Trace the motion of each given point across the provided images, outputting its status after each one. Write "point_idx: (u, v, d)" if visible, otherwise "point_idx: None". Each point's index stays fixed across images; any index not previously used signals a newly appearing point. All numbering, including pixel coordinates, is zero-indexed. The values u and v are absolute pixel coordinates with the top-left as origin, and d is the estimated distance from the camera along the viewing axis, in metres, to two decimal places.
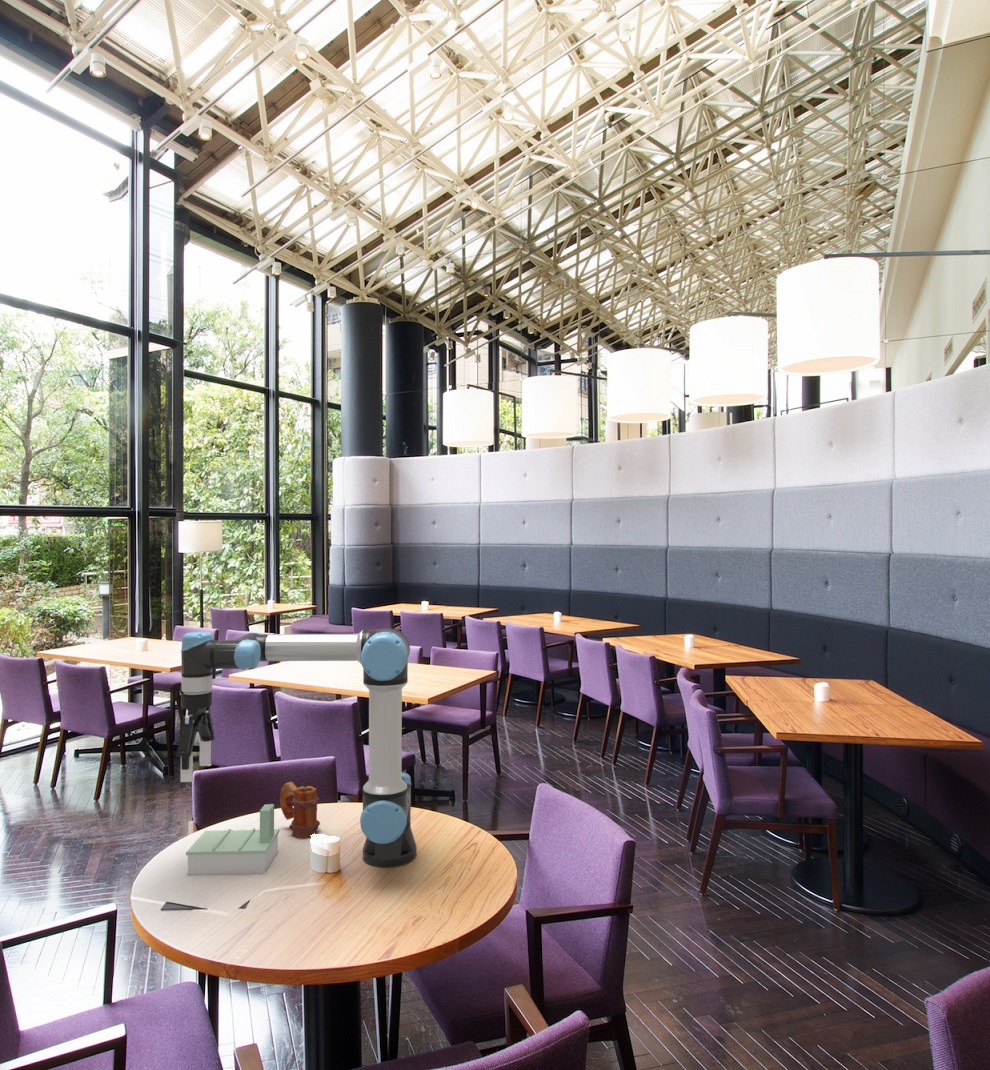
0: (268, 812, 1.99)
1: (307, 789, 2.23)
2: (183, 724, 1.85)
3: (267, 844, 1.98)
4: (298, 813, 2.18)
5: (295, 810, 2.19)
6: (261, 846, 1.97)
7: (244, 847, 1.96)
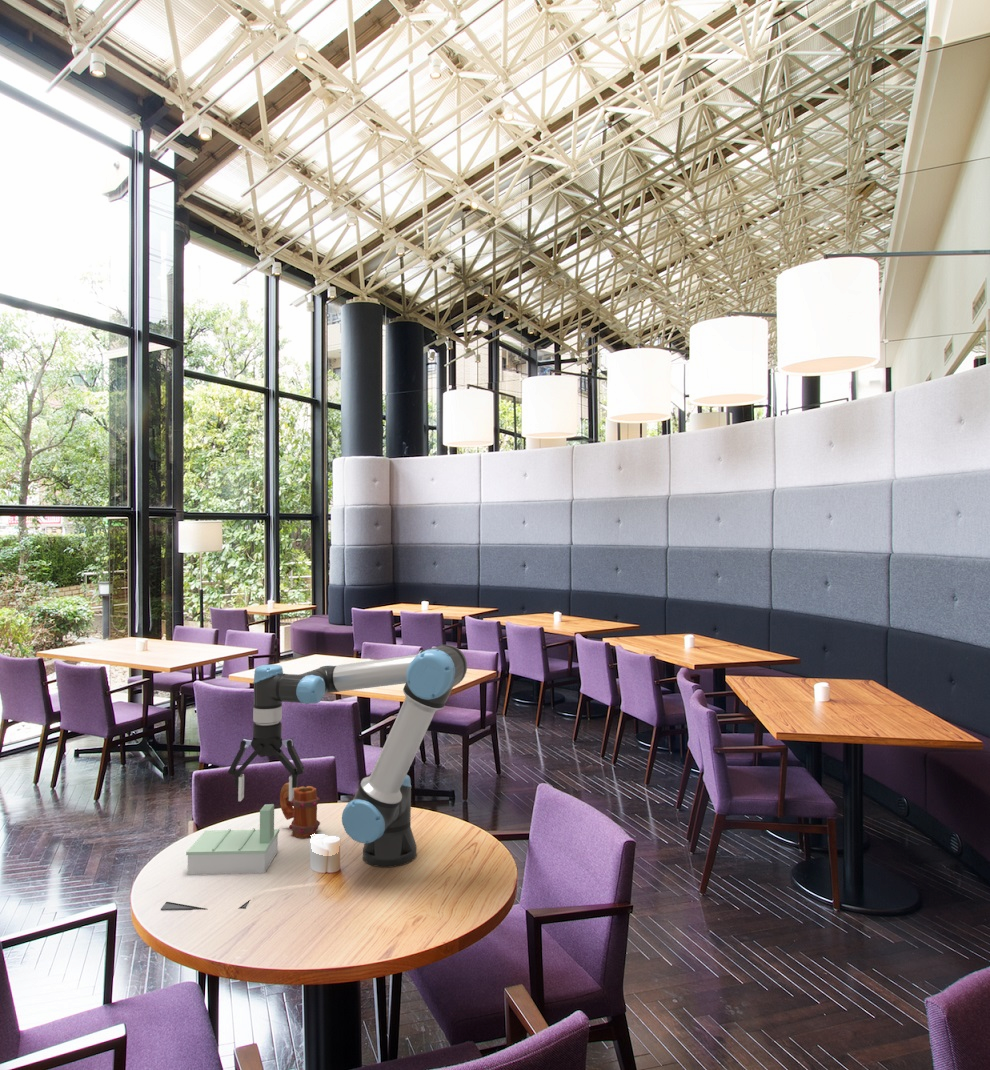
0: (268, 812, 1.99)
1: (307, 789, 2.23)
2: None
3: (267, 844, 1.98)
4: (298, 813, 2.18)
5: (295, 810, 2.19)
6: (261, 846, 1.97)
7: (244, 847, 1.96)
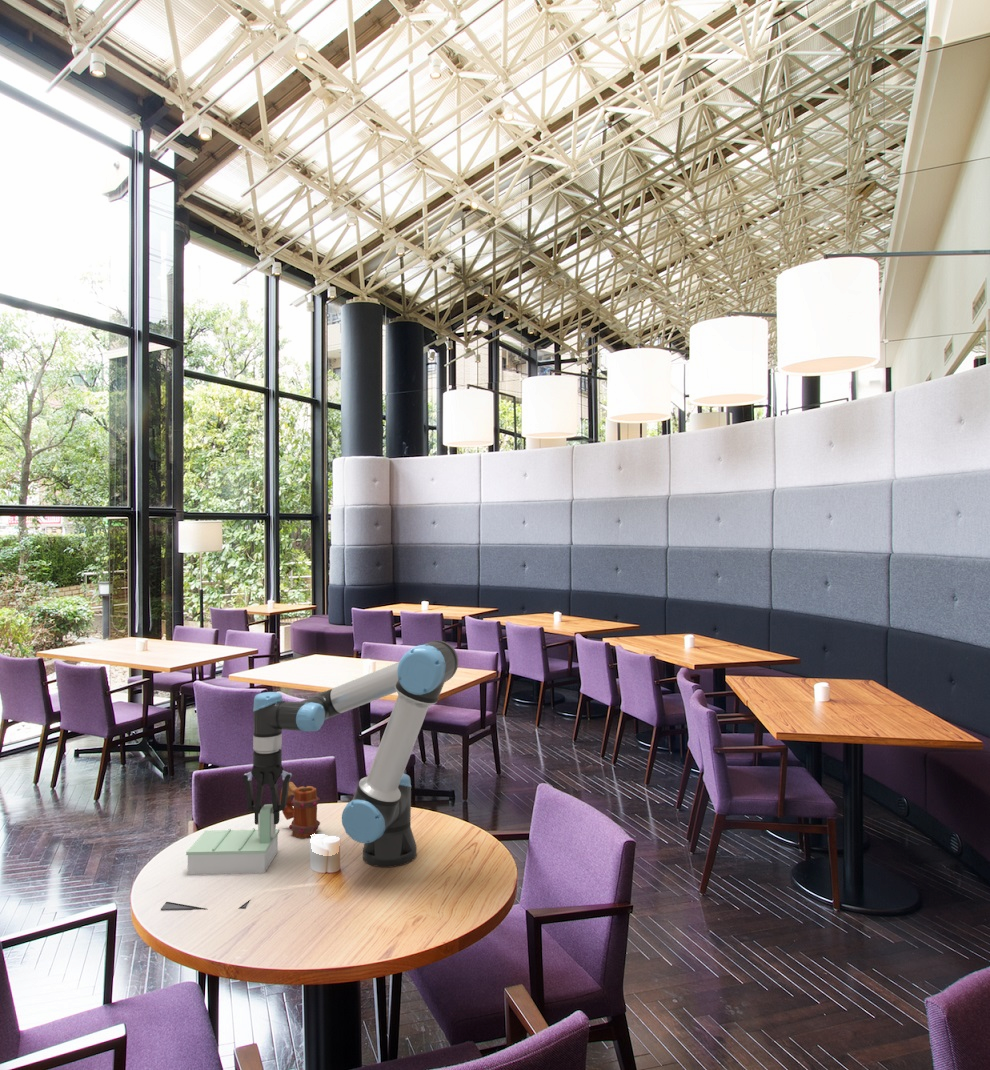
0: (268, 812, 1.99)
1: (307, 789, 2.23)
2: None
3: (267, 844, 1.98)
4: (298, 813, 2.18)
5: (295, 810, 2.19)
6: (261, 846, 1.97)
7: (244, 847, 1.96)
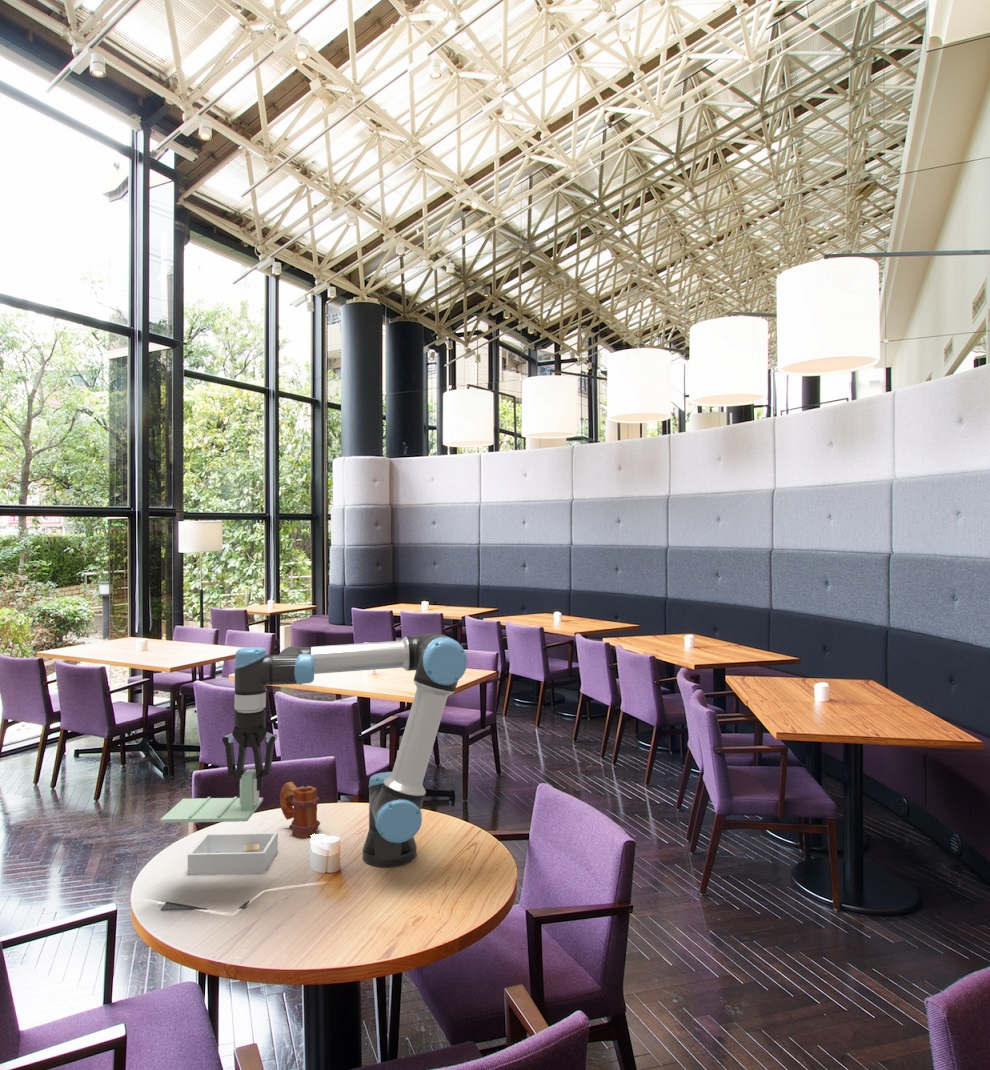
0: (250, 777, 1.82)
1: (307, 789, 2.23)
2: None
3: (249, 812, 1.81)
4: (298, 813, 2.18)
5: (295, 810, 2.19)
6: (242, 814, 1.80)
7: (224, 815, 1.79)
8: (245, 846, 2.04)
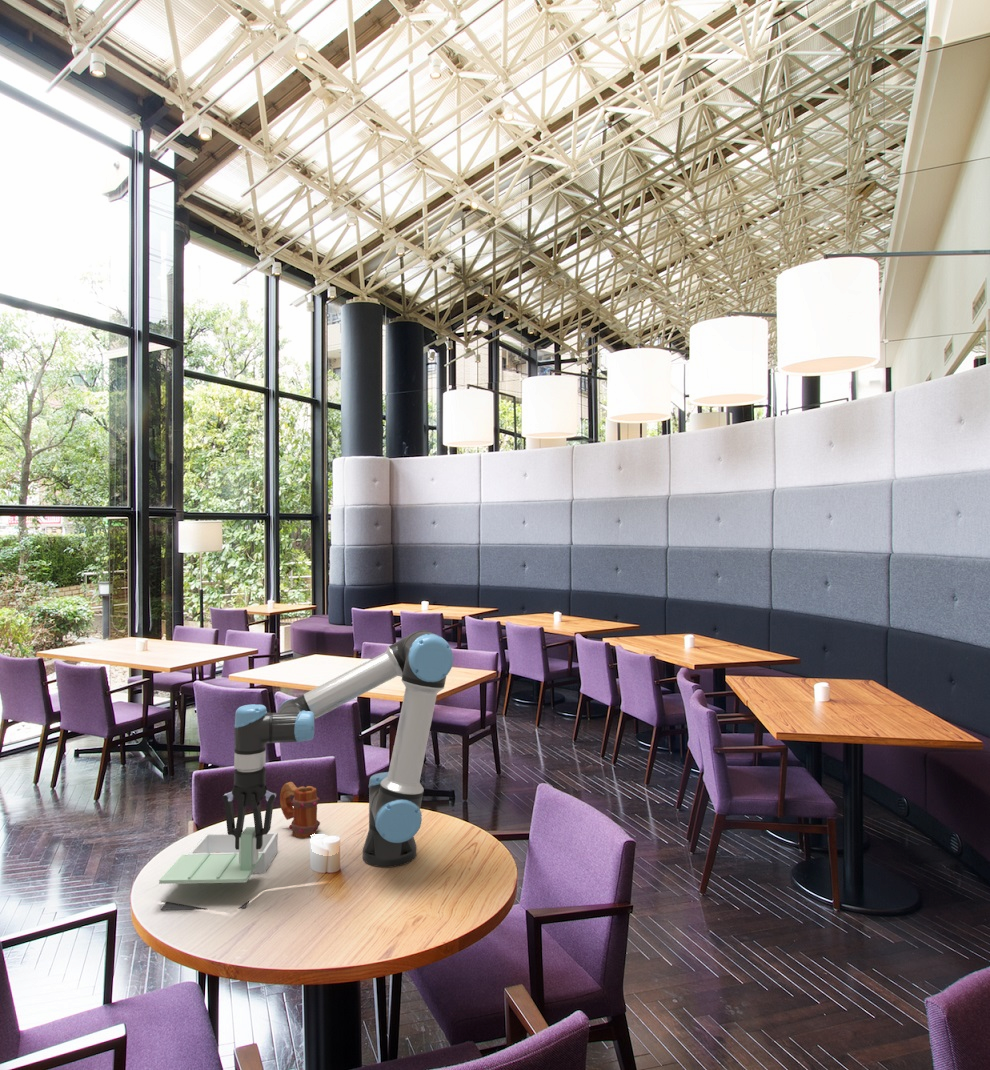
0: (250, 836, 1.82)
1: (307, 789, 2.23)
2: None
3: (248, 871, 1.81)
4: (298, 813, 2.18)
5: (295, 810, 2.19)
6: (242, 874, 1.80)
7: (223, 875, 1.79)
8: None
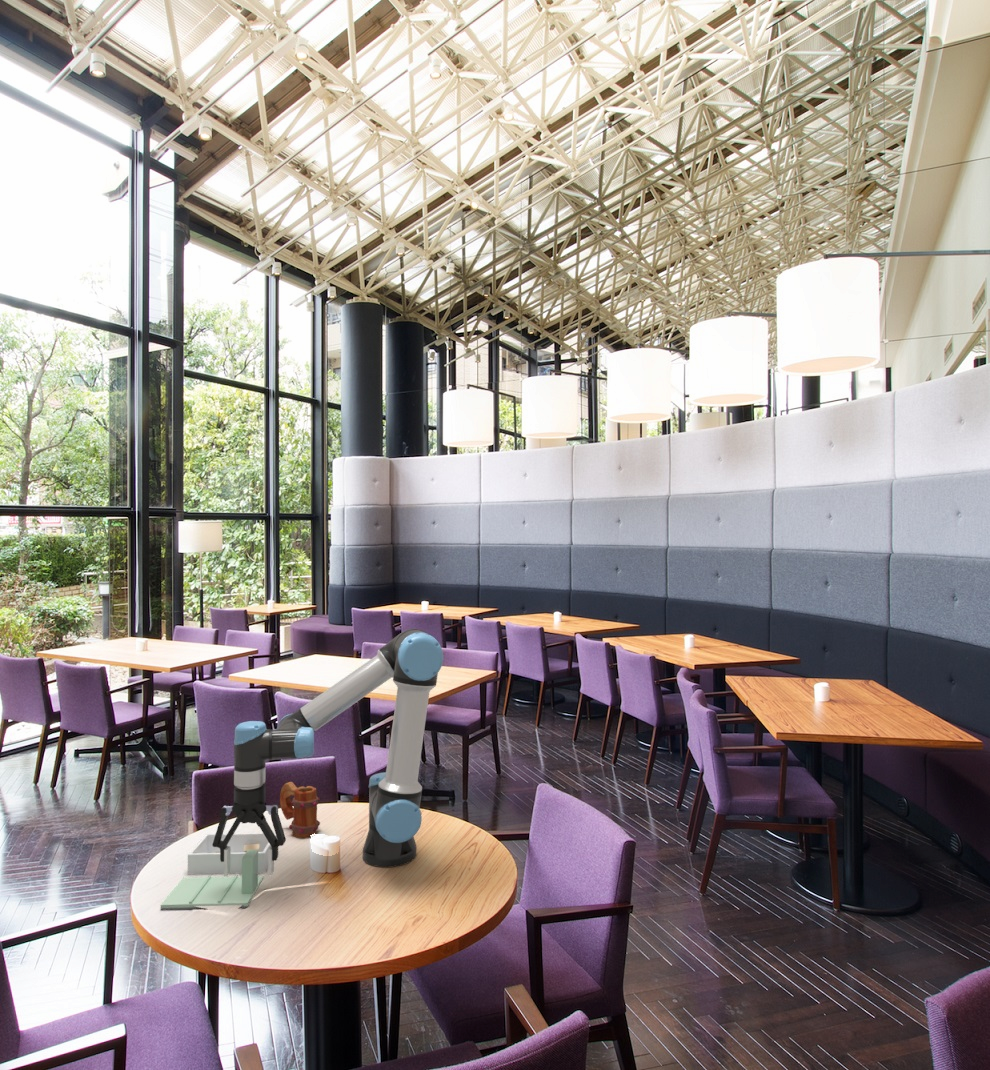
0: (251, 859, 1.82)
1: (307, 789, 2.23)
2: None
3: (250, 895, 1.81)
4: (298, 813, 2.18)
5: (295, 810, 2.19)
6: (243, 897, 1.79)
7: (224, 898, 1.79)
8: (245, 846, 2.04)
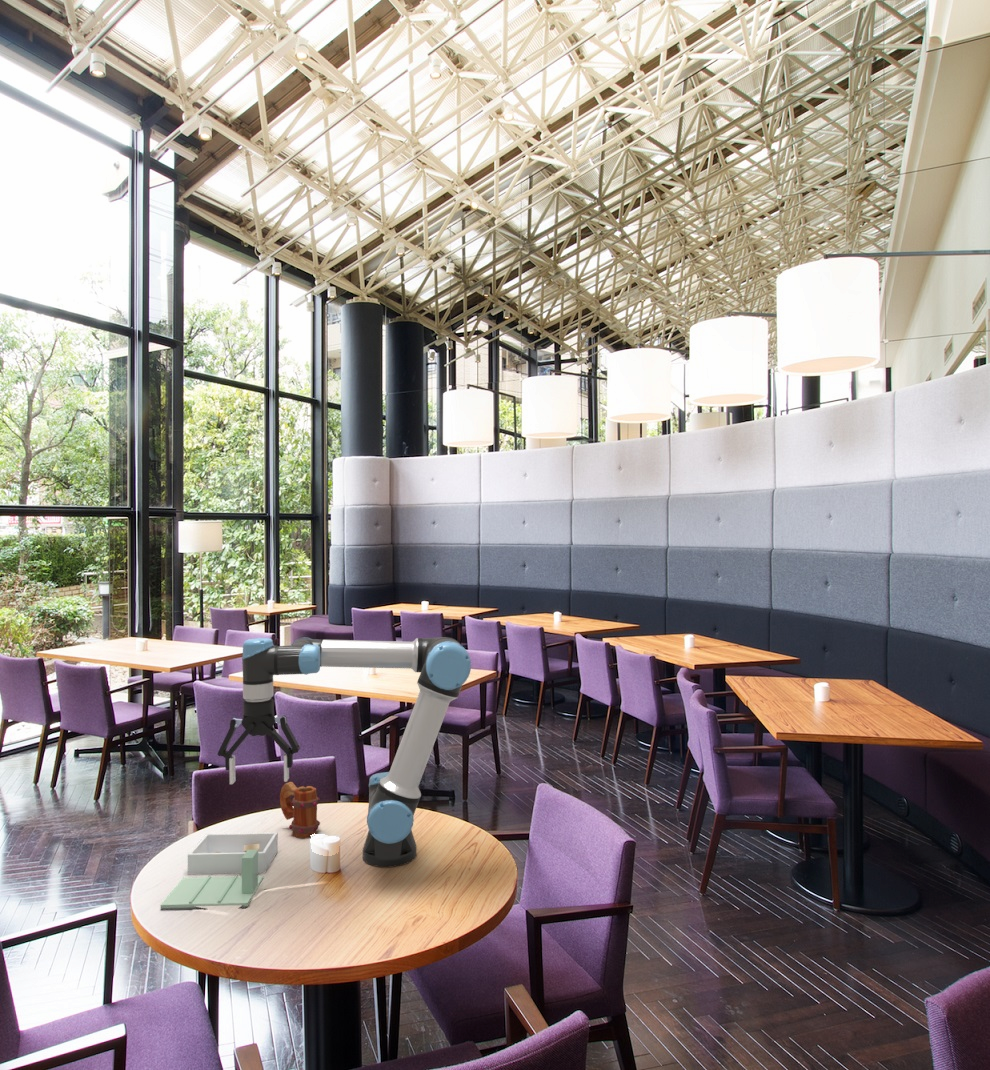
0: (251, 859, 1.82)
1: (307, 789, 2.23)
2: None
3: (250, 895, 1.81)
4: (298, 813, 2.18)
5: (295, 810, 2.19)
6: (243, 897, 1.79)
7: (224, 898, 1.79)
8: (245, 846, 2.04)
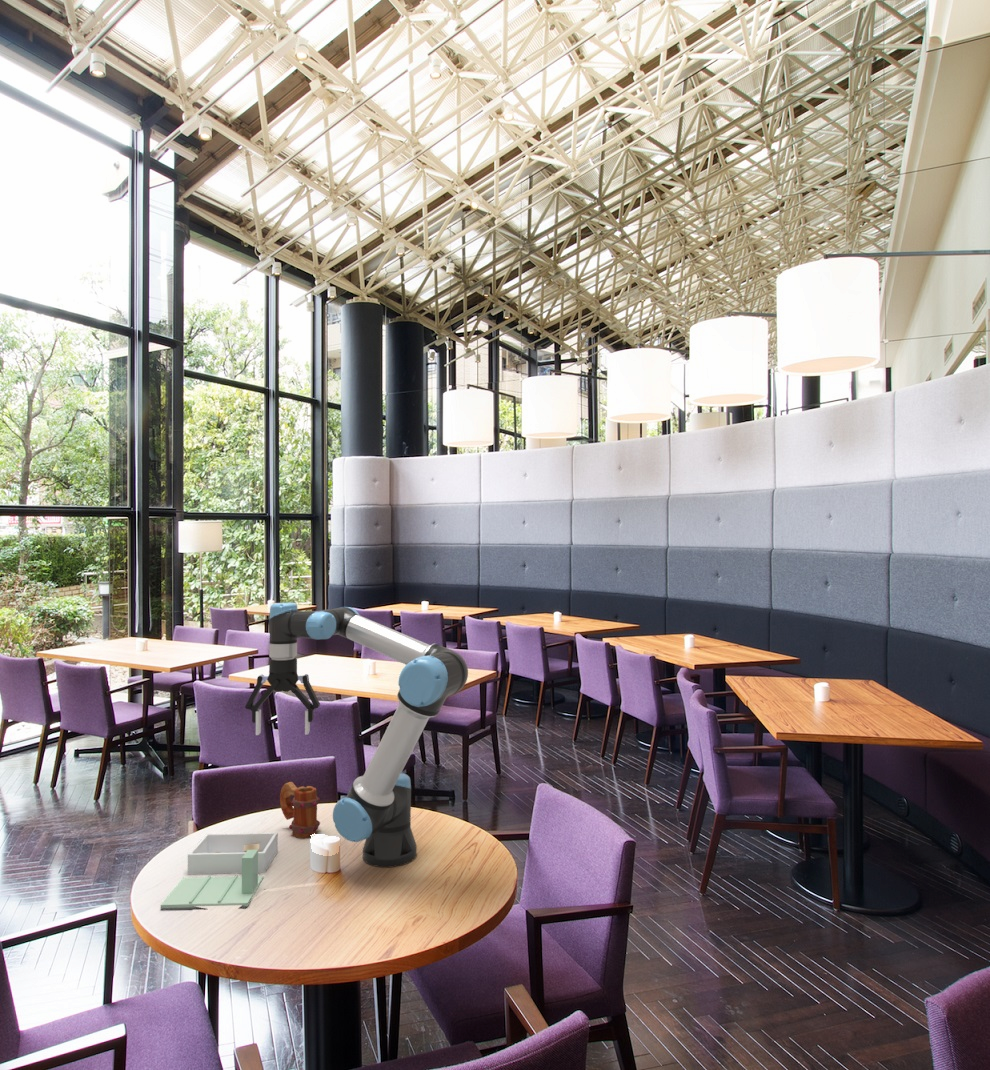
0: (251, 859, 1.82)
1: (307, 789, 2.23)
2: None
3: (250, 895, 1.81)
4: (298, 813, 2.18)
5: (295, 810, 2.19)
6: (243, 897, 1.79)
7: (224, 898, 1.79)
8: (245, 846, 2.04)
